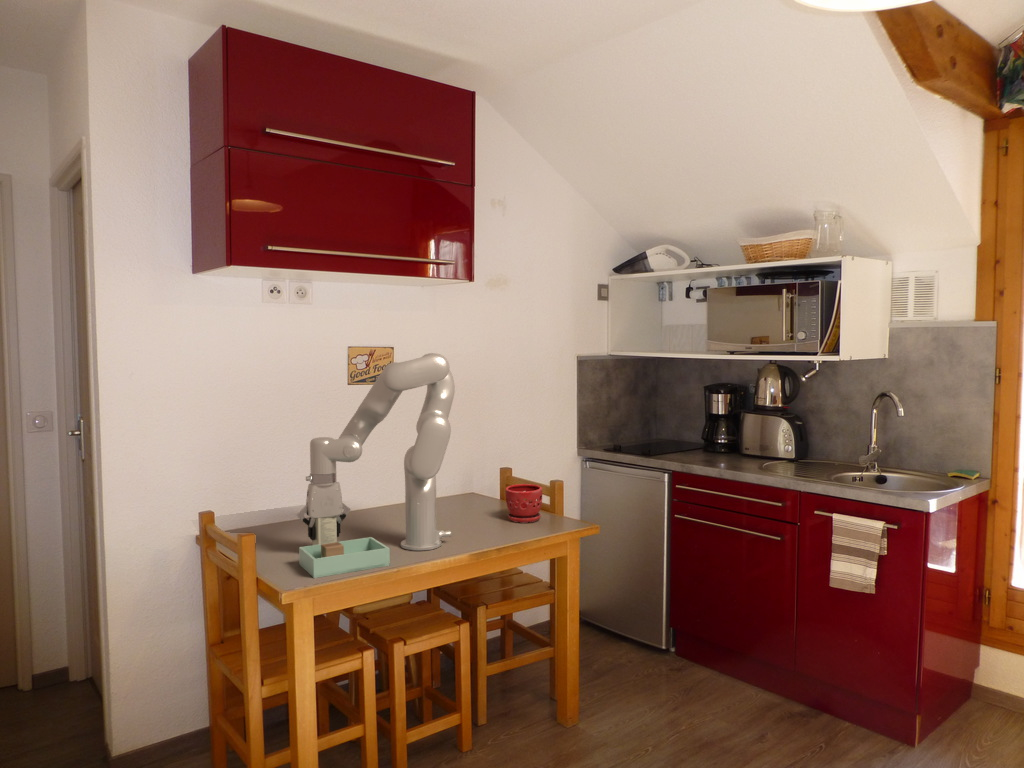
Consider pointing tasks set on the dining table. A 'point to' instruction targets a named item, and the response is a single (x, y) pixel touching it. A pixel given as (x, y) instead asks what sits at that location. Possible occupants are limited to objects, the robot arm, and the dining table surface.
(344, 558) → the tote
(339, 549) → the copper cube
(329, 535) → the skincare box
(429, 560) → the dining table surface
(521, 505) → the plant pot
